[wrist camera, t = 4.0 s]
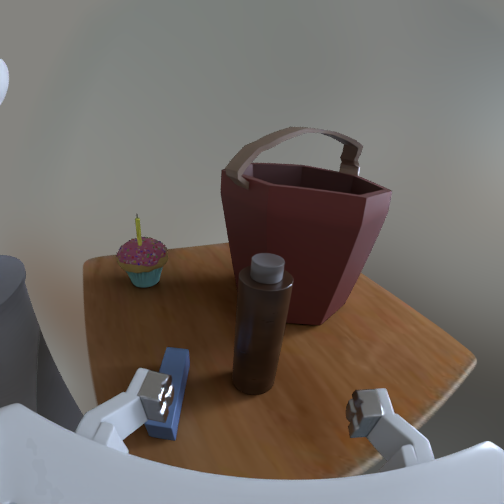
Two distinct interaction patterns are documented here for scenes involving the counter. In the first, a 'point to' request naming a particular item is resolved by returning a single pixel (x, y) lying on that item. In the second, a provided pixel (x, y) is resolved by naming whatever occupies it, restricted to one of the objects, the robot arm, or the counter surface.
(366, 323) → the counter surface
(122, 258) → the cupcake
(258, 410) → the counter surface
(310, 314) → the bucket
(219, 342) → the counter surface
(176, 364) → the blue stick
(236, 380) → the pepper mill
